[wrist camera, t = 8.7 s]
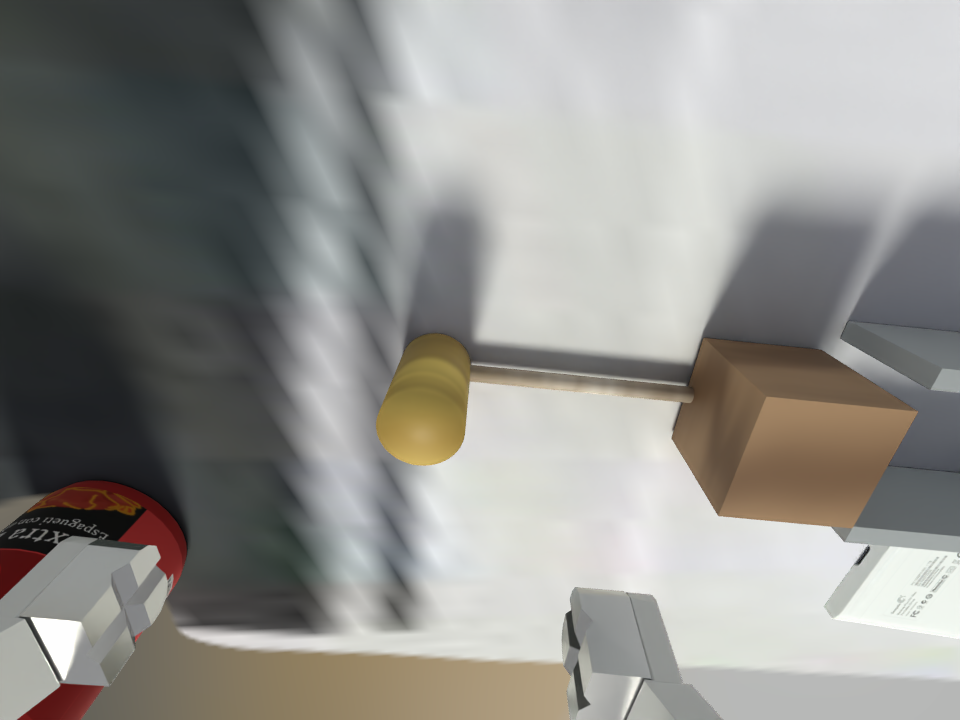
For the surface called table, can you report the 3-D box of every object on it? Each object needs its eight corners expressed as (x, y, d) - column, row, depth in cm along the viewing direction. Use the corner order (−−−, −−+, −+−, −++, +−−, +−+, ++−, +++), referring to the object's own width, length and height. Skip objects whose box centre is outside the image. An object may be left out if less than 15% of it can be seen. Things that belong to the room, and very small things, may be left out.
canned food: (153, 466, 24) (-94, 706, 14) (216, 580, 27) (53, 841, 17) (13, 483, 24) (-322, 725, 14) (91, 593, 28) (-137, 852, 18)
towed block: (403, 307, 20) (376, 357, 15) (821, 349, 20) (918, 411, 15) (400, 411, 22) (375, 484, 17) (778, 448, 22) (852, 528, 18)
